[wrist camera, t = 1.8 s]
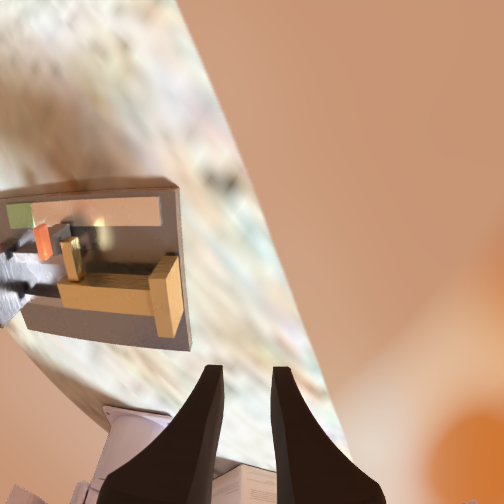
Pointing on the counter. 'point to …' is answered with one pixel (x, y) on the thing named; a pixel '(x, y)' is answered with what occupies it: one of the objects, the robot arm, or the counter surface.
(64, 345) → the counter surface
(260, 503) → the supplement box
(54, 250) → the orange and grey block
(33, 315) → the gauge base
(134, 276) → the wooden u-shaped cradle
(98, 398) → the counter surface
